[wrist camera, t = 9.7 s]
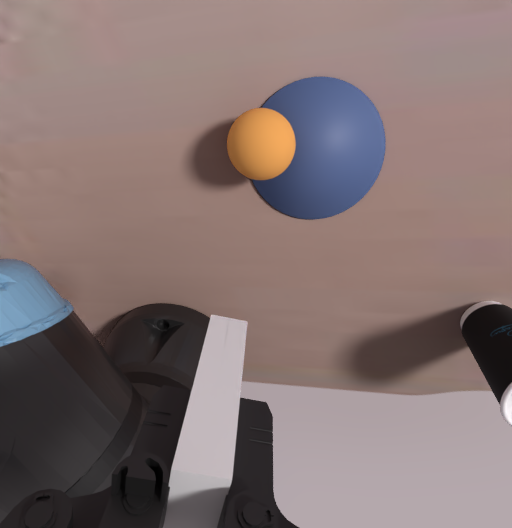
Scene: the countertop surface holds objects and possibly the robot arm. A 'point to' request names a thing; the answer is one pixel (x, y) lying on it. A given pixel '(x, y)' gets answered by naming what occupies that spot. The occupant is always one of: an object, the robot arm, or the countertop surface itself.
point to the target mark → (325, 148)
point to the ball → (261, 144)
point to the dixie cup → (492, 348)
